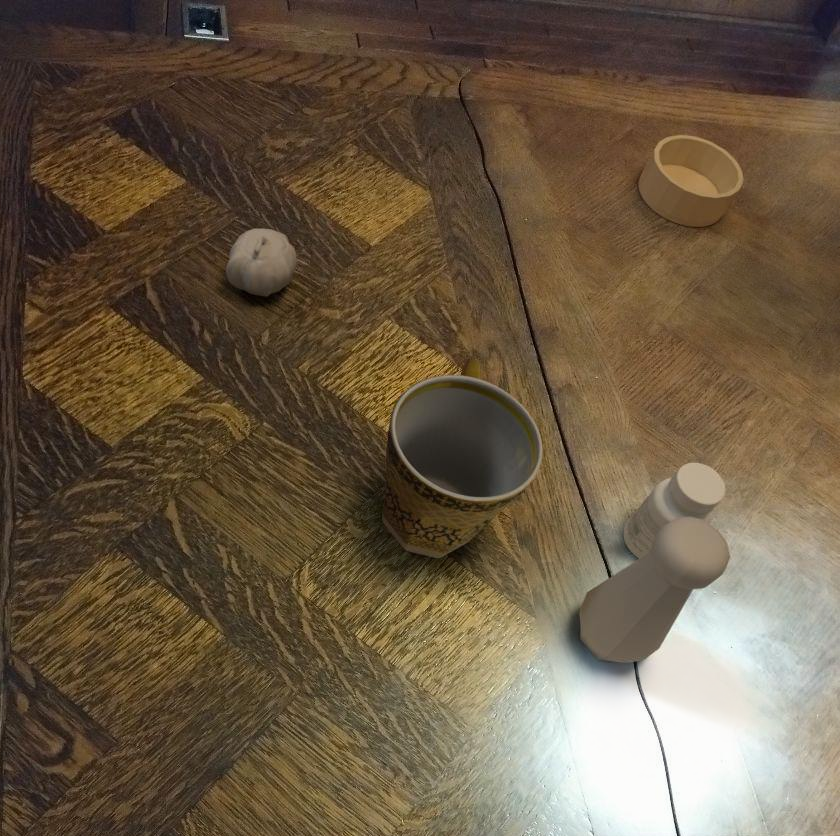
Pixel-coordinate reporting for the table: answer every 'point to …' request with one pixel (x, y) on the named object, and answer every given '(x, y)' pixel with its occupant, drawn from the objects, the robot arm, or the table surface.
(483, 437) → the ceramic cup
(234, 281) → the garlic
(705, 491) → the pill bottle
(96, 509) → the table surface
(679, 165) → the tan round bowl
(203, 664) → the table surface
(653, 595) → the salt shaker
